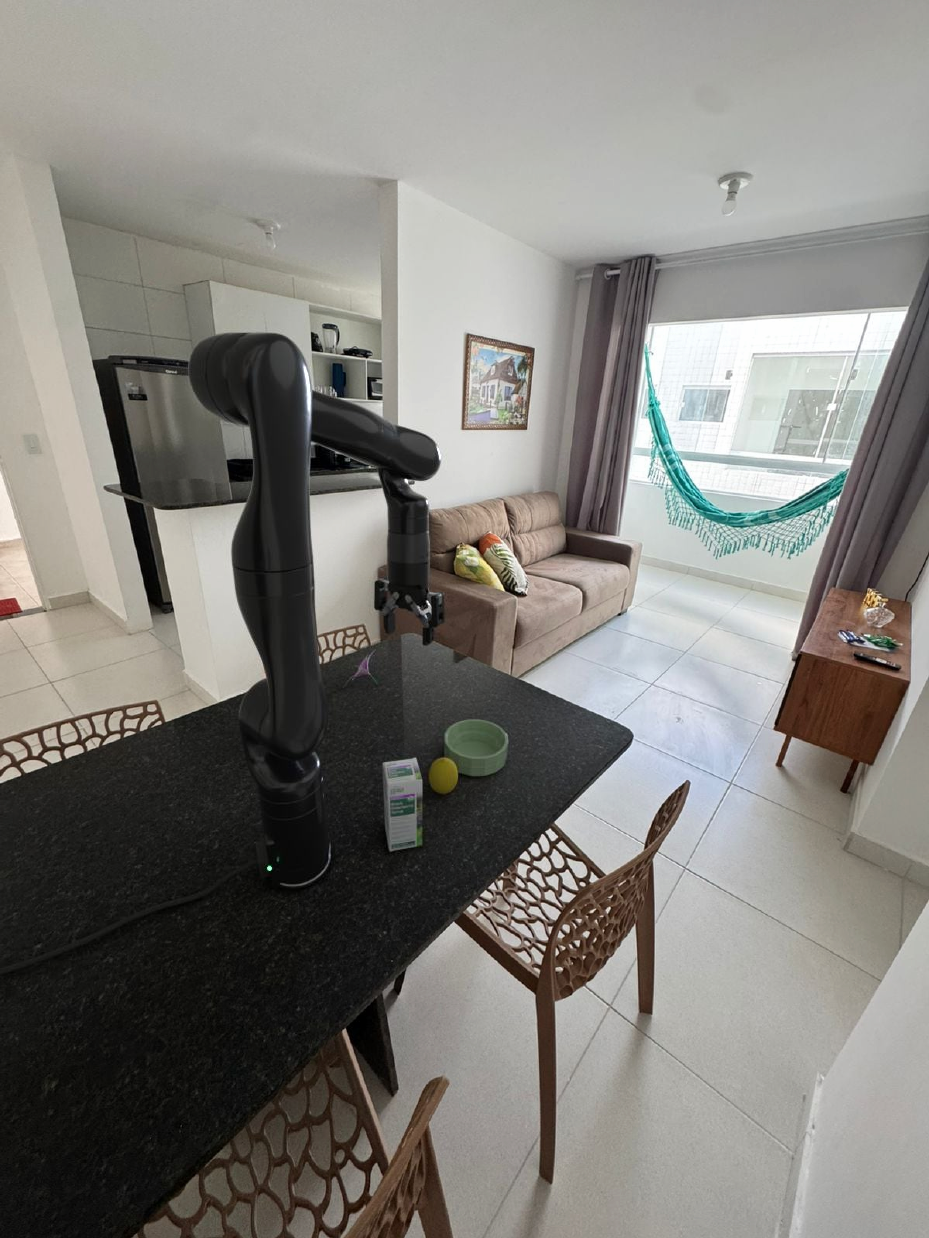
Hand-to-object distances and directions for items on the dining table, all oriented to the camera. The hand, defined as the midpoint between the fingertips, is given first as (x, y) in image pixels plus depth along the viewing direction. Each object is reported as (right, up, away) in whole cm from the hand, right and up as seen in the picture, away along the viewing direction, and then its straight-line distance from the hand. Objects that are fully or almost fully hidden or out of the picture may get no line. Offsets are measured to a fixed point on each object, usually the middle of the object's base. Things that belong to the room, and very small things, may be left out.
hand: (408, 638), depth 96 cm
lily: (-16, -13, +38) cm, 43 cm away
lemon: (+6, -30, +3) cm, 31 cm away
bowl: (+13, -26, +13) cm, 31 cm away
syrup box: (0, -34, -7) cm, 35 cm away
